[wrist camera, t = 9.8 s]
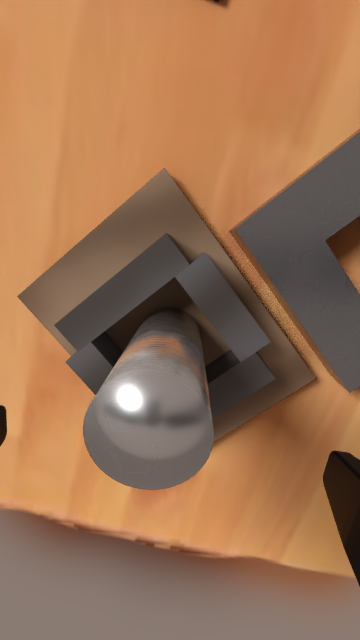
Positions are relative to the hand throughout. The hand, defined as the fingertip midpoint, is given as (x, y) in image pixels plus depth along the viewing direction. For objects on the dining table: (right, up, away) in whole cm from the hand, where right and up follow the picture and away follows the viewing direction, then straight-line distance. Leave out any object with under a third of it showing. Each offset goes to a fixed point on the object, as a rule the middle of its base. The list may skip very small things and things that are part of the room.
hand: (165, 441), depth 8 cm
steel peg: (0, +2, +11) cm, 11 cm away
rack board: (0, +2, +12) cm, 12 cm away
